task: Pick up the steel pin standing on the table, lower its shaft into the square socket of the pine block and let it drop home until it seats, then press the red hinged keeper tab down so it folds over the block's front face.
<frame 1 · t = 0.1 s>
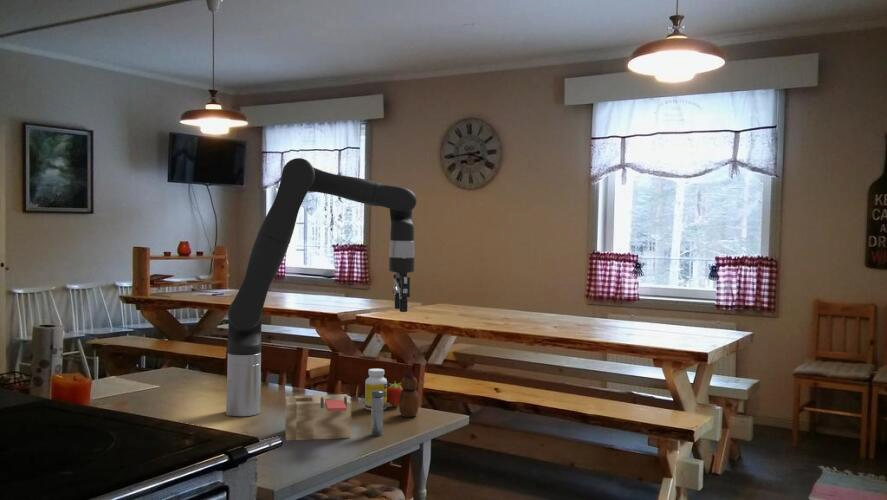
hand: (400, 310, 227), 29 cm above the table, fingers open, 8 cm apart
fruit: (394, 407, 229), on the table
keeper tab: (335, 404, 187), point 10 cm above the table, hinge at 0.0°
hitch block: (317, 434, 196), on the table
pill bottle: (375, 409, 226), on the table
wooden figurine: (408, 416, 218), on the table
steel pin: (376, 434, 197), on the table
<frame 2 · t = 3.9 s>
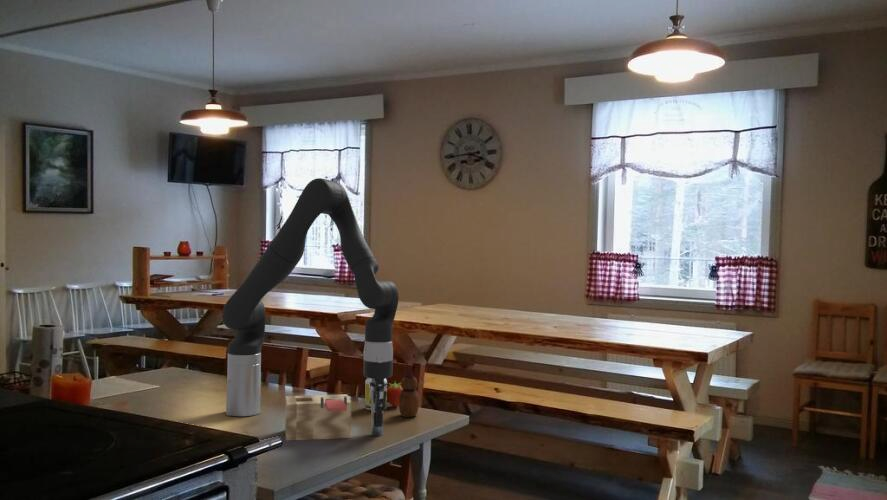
hand: (377, 424, 197), 3 cm above the table, fingers closed on steel pin, 3 cm apart
steel pin: (376, 434, 197), on the table, touching gripper
everything else where it was.
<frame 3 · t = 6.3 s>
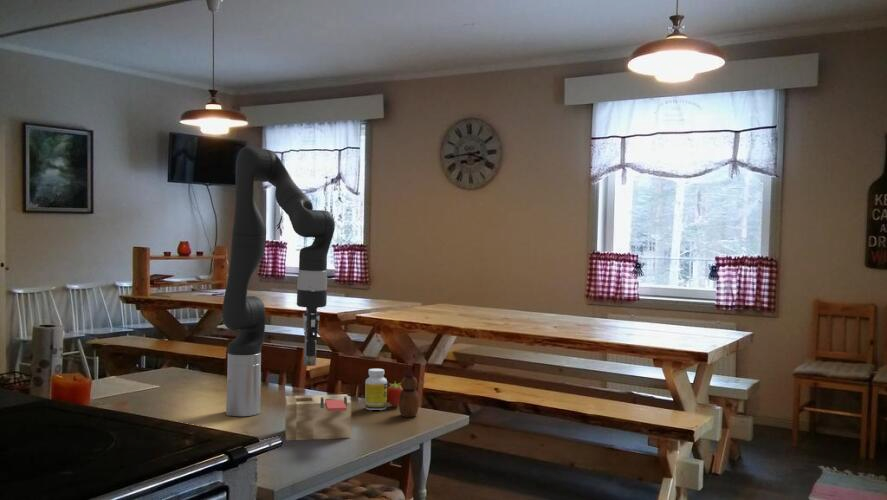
hand: (309, 354, 196), 21 cm above the table, fingers closed on steel pin, 3 cm apart
steel pin: (309, 364, 196), point 18 cm above the table, touching gripper
everything else where it was.
when the fingers open (10 cm above the table, at t = 8.9 s): steel pin drops 7 cm, resting in hitch block.
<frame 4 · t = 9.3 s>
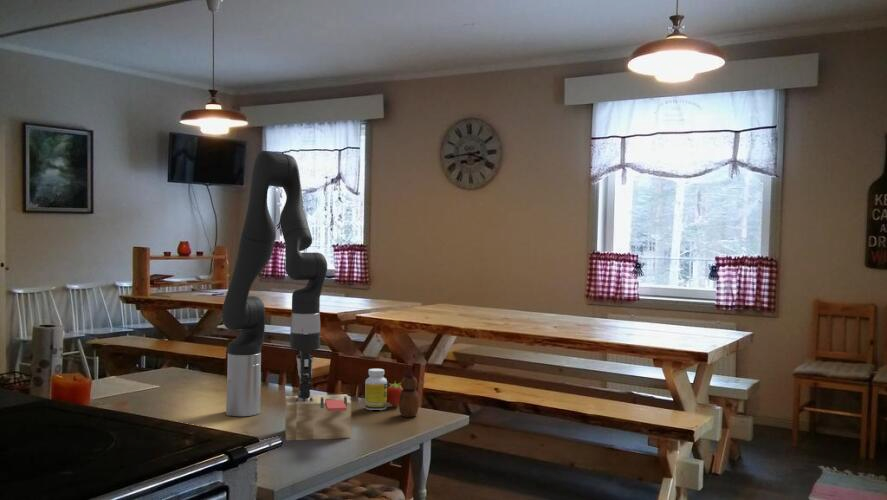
hand: (304, 395, 195), 10 cm above the table, fingers open, 6 cm apart
steel pin: (303, 434, 195), resting in hitch block
everything else where it was.
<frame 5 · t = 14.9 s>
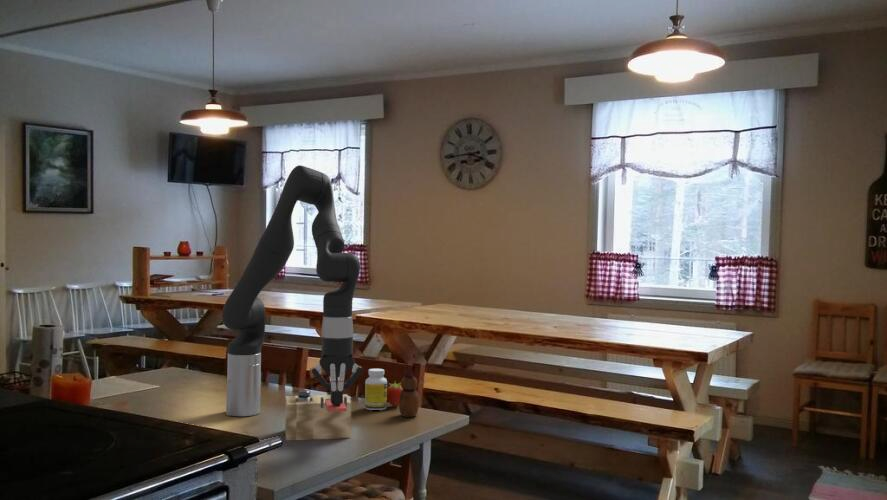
hand: (336, 405, 185), 10 cm above the table, fingers closed
keeper tab: (335, 405, 187), point 10 cm above the table, hinge at 0.9°, touching gripper
everything else where it was.
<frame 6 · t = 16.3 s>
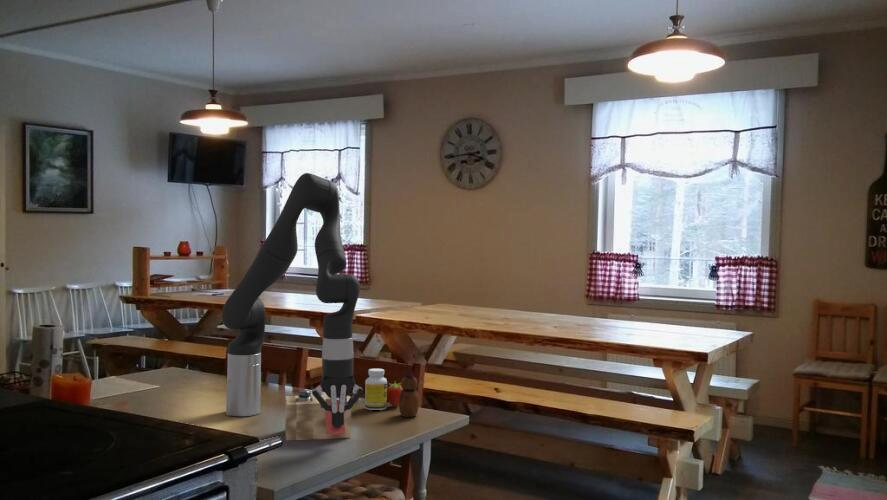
hand: (337, 427, 185), 5 cm above the table, fingers closed
keeper tab: (334, 415, 188), point 7 cm above the table, hinge at 42.9°, touching gripper
everything else where it was.
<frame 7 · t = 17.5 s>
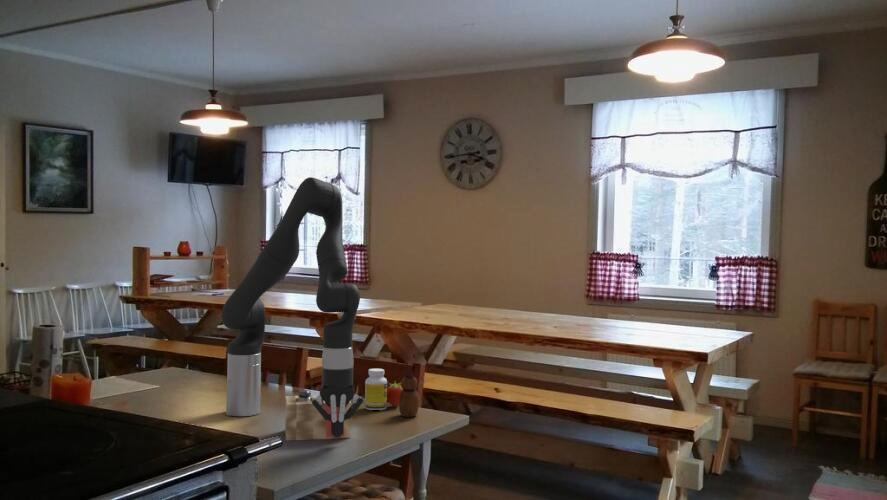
hand: (337, 436, 185), 2 cm above the table, fingers closed
keeper tab: (334, 417, 189), point 6 cm above the table, hinge at 52.6°, touching gripper
everything else where it was.
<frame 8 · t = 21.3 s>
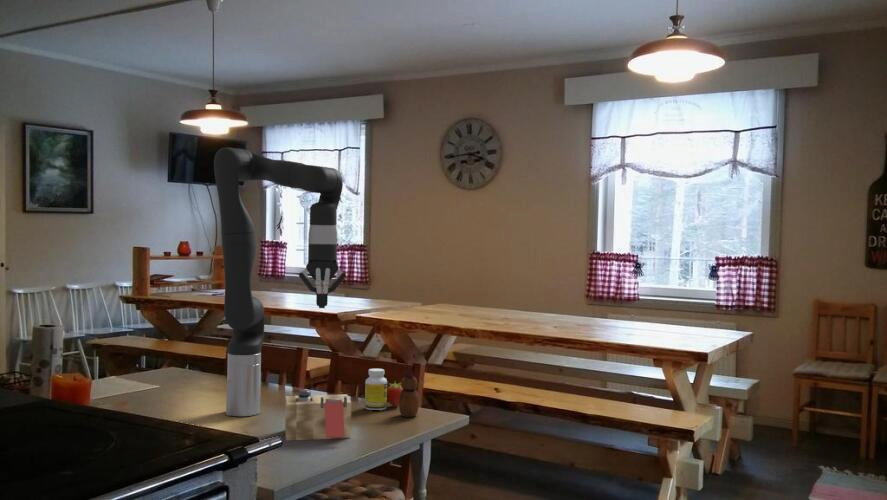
hand: (321, 307, 202), 32 cm above the table, fingers closed
keeper tab: (334, 417, 189), point 6 cm above the table, hinge at 52.9°
everything else where it was.
at the end: steel pin 0.2 cm from the target spot on the hitch block, point 0.0 cm above the hitch block's base; steel pin tilted 1°; keeper tab at +53° (first picture: +0°) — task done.
